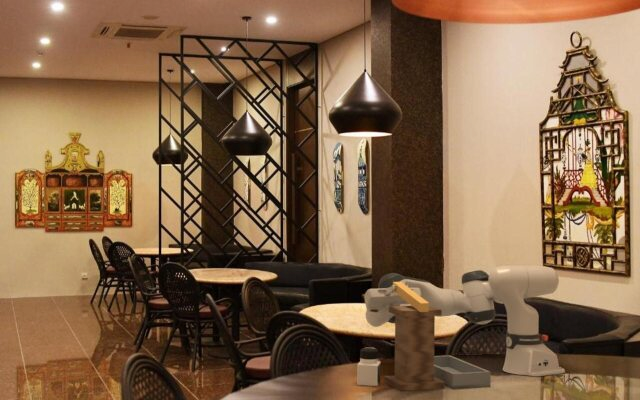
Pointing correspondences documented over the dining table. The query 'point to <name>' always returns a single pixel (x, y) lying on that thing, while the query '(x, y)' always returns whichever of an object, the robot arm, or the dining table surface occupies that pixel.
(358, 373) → the medicine bottle
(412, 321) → the stand
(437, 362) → the tray
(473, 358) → the dining table surface
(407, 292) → the rod
